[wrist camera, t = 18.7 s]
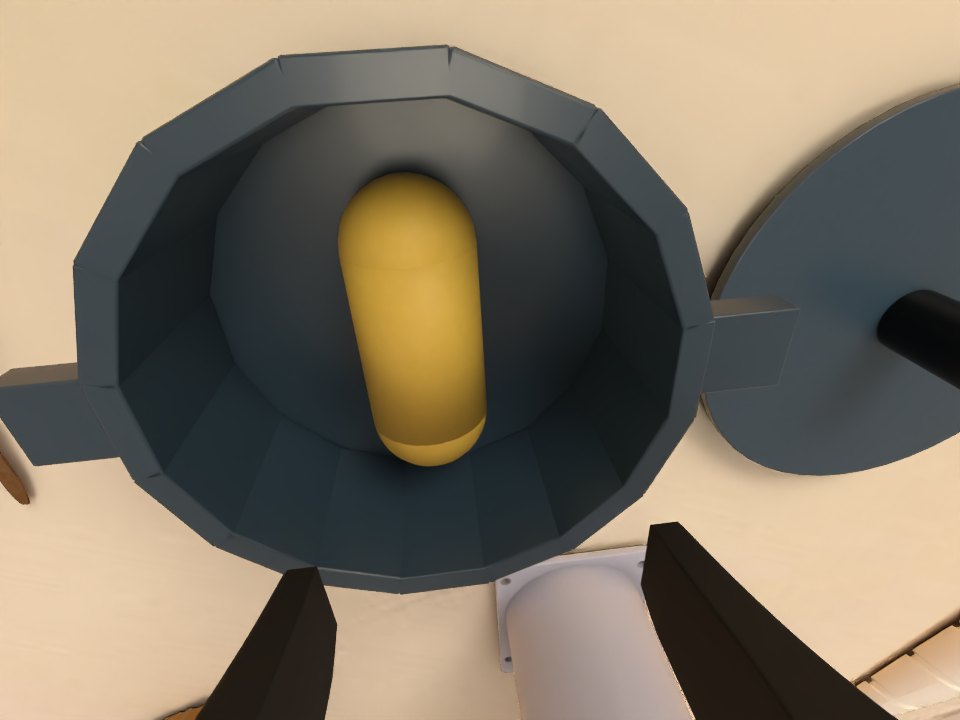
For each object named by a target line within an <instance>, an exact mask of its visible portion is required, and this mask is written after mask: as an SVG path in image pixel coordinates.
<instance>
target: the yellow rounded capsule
mask: <svg viewBox="0 0 960 720" xmlns="http://www.w3.org/2000/svg"><path fill="white" fill-rule="evenodd" d="M338 251H339V258H340V263H341V268H342V273H343V277H344V282H345V287H346V292H347V296H348V301H349V306H350V311H351V315H352V320H353V325H354V330H355V334H356V339H357V344H358V349H359V353H360V358H361V363H362V368H363V372H364V377H365V382H366V387H367V391H368V396H369V401H370V406H371V410H372V415H373V420H374V424H375V427H376V430H377V432H378V434H379V437H380V438H381V440H382V441H383V443H384V444H385V446H386V447H387V448H388V449H389V450H390V451H391V452H392V453H393V454H395V455H396V456H397V457H399V458H400V459H402V460H405V461H407V462H409V463H412V464H415V465H419V466H439V465H444V464H447V463H450V462H453V461H455V460H456V459H458V458H460V457H461V456H462V455H464V454H465V453H466V452H468V451H469V450H470V449H471V448H472V447H473V446H474V444H475V443H476V441H477V440H478V438H479V436H480V435H481V433H482V431H483V427H484V424H485V420H486V414H487V399H486V383H485V367H484V351H483V335H482V319H481V303H480V287H479V270H478V254H477V241H476V235H475V229H474V225H473V222H472V219H471V217H470V214H469V212H468V210H467V209H466V207H465V206H464V204H463V202H462V201H461V200H460V199H459V198H458V197H457V196H456V195H455V194H454V192H453V191H452V190H451V189H449V188H448V187H446V186H445V185H444V184H442V183H441V182H439V181H437V180H435V179H432V178H430V177H428V176H425V175H421V174H415V173H409V172H401V173H392V174H388V175H385V176H382V177H380V178H377V179H375V180H373V181H371V182H370V183H368V184H367V185H365V186H364V187H362V188H361V189H360V190H359V191H358V192H357V193H356V194H355V196H354V197H353V198H352V199H351V200H350V202H349V203H348V205H347V207H346V209H345V210H344V212H343V215H342V218H341V221H340V224H339V231H338Z"/></svg>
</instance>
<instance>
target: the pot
mask: <svg viewBox="0 0 960 720" xmlns="http://www.w3.org/2000/svg"><path fill="white" fill-rule="evenodd" d="M401 172H409V173H415V174H421V175H425V176H428V177H430V178H432V179H435V180H437V181H439V182H441V183H442V184H444V185H445V186H446V187H448V188H449V189H451V190H452V191H453V192H454V194H455V195H456V196H457V197H458V198H459V199H460V200H461V201H462V202H463V204H464V206H465V207H466V209H467V210H468V212H469V214H470V217H471V219H472V222H473V225H474V229H475V235H476V241H477V254H478V270H479V287H480V303H481V319H482V335H483V351H484V367H485V383H486V399H487V414H486V420H485V424H484V427H483V431H482V433H481V435H480V436H479V438H478V440H477V441H476V443H475V444H474V446H473V447H472V448H471V449H470V450H469V451H468V452H466V453H465V454H464V455H462V456H461V457H460V458H458V459H456V460H455V461H453V462H450V463H447V464H444V465H439V466H419V465H415V464H412V463H409V462H407V461H405V460H402V459H400V458H399V457H397V456H396V455H395V454H393V453H392V452H391V451H390V450H389V449H388V448H387V447H386V446H385V444H384V443H383V441H382V440H381V438H380V437H379V434H378V432H377V430H376V427H375V424H374V420H373V415H372V410H371V406H370V401H369V396H368V391H367V387H366V382H365V377H364V372H363V368H362V363H361V358H360V353H359V349H358V344H357V339H356V334H355V330H354V325H353V320H352V315H351V311H350V306H349V301H348V296H347V292H346V287H345V282H344V277H343V273H342V268H341V263H340V258H339V251H338V231H339V224H340V221H341V218H342V215H343V212H344V210H345V209H346V207H347V205H348V203H349V202H350V200H351V199H352V198H353V197H354V196H355V194H356V193H357V192H358V191H359V190H360V189H361V188H362V187H364V186H365V185H367V184H368V183H370V182H371V181H373V180H375V179H377V178H380V177H382V176H385V175H388V174H392V173H401ZM687 211H688V210H687V207H686V206H685V205H684V204H683V203H682V202H681V201H680V199H679V198H678V197H677V196H676V195H675V194H674V192H673V191H672V190H671V189H670V188H669V187H668V186H667V184H666V183H665V182H664V181H663V180H662V179H661V177H660V176H659V175H658V174H657V173H656V172H655V171H654V169H653V168H652V167H651V166H650V165H649V164H648V162H647V161H646V160H645V159H644V158H643V157H642V155H641V154H640V153H639V152H638V151H637V150H636V149H635V147H634V146H633V145H632V144H631V143H630V142H629V140H628V139H627V138H626V137H625V136H624V135H623V134H622V132H621V131H620V130H619V129H618V128H617V127H616V125H615V124H614V123H613V122H612V121H611V120H610V119H609V117H608V116H607V115H606V114H605V113H604V112H603V110H602V109H600V108H597V107H596V106H595V105H594V104H591V103H589V102H587V101H584V100H582V99H579V98H577V97H575V96H572V95H570V94H567V93H565V92H563V91H560V90H558V89H555V88H553V87H551V86H548V85H546V84H543V83H541V82H539V81H536V80H534V79H531V78H529V77H527V76H524V75H522V74H519V73H517V72H514V71H512V70H510V69H507V68H505V67H502V66H500V65H498V64H495V63H493V62H490V61H488V60H486V59H483V58H481V57H478V56H476V55H474V54H471V53H469V52H466V51H464V50H462V49H459V48H457V47H449V46H448V45H433V46H417V47H401V48H386V49H370V50H354V51H338V52H322V53H306V54H290V55H280V56H278V58H272V59H271V60H269V61H267V62H266V63H264V64H262V65H261V66H259V67H257V68H256V69H254V70H252V71H251V72H249V73H248V74H246V75H244V76H243V77H241V78H239V79H238V80H236V81H234V82H233V83H231V84H229V85H228V86H226V87H225V88H223V89H221V90H220V91H218V92H216V93H215V94H213V95H211V96H210V97H208V98H206V99H205V100H203V101H202V102H200V103H198V104H197V105H195V106H193V107H192V108H190V109H188V110H187V111H185V112H183V113H182V114H180V115H179V116H177V117H175V118H174V119H172V120H170V121H169V122H167V123H165V124H164V125H162V126H160V127H159V128H157V129H156V130H154V131H152V132H151V133H149V134H147V135H146V136H144V137H143V138H142V140H141V141H139V142H137V143H136V145H135V147H134V149H133V151H132V152H131V154H130V156H129V158H128V160H127V162H126V164H125V166H124V167H123V169H122V171H121V173H120V175H119V177H118V179H117V181H116V182H115V184H114V186H113V188H112V190H111V192H110V194H109V196H108V197H107V199H106V201H105V203H104V205H103V207H102V209H101V210H100V212H99V214H98V216H97V218H96V220H95V222H94V224H93V225H92V227H91V229H90V231H89V233H88V235H87V237H86V239H85V240H84V242H83V244H82V246H81V248H80V250H79V252H78V254H77V255H76V257H75V259H74V265H73V281H74V301H75V321H76V341H77V363H67V364H57V365H46V366H36V367H26V368H15V369H11V370H9V371H8V372H6V373H5V374H3V375H2V376H1V377H0V418H1V420H2V421H3V422H4V424H5V425H6V427H7V428H8V430H9V431H10V432H11V434H12V435H13V437H14V438H15V440H16V441H17V443H18V444H19V445H20V447H21V448H22V450H23V451H24V453H25V454H26V455H27V457H28V458H29V460H30V461H31V463H32V464H33V465H34V466H43V465H52V464H61V463H70V462H80V461H89V460H98V459H107V458H116V457H120V458H121V460H122V462H123V463H124V465H125V467H126V469H127V470H128V472H129V474H130V476H131V477H132V479H133V480H135V481H134V482H135V483H136V484H137V485H138V486H139V487H141V488H142V489H143V490H144V491H146V492H147V493H148V494H149V495H151V496H152V497H153V498H154V499H156V500H157V501H158V502H159V503H160V504H162V505H163V506H164V507H165V508H167V509H168V510H169V511H170V512H172V513H173V514H174V515H175V516H177V517H178V518H179V519H180V520H181V521H183V522H184V523H185V524H186V525H188V526H189V527H190V528H191V529H193V530H194V531H195V532H196V533H198V534H199V535H200V536H201V537H202V538H204V539H205V540H206V541H207V542H209V543H210V544H211V545H212V546H216V547H217V548H219V549H221V550H224V551H226V552H229V553H231V554H234V555H236V556H239V557H241V558H244V559H246V560H249V561H251V562H254V563H256V564H259V565H261V566H264V567H266V568H269V569H271V570H274V571H276V572H279V573H281V574H284V573H285V572H286V571H287V570H291V569H299V568H307V567H315V566H317V568H318V571H319V574H320V576H321V579H322V582H323V585H326V586H334V587H342V588H351V589H359V590H368V591H376V592H385V593H393V594H399V593H400V594H401V595H402V594H409V593H417V592H425V591H433V590H440V589H448V588H456V587H463V586H471V585H479V584H487V583H489V582H493V581H496V580H498V579H501V578H503V577H506V576H508V575H511V574H513V573H516V572H518V571H521V570H523V569H526V568H528V567H531V566H533V565H536V564H538V563H541V562H543V561H546V560H548V559H551V558H553V557H556V556H558V555H561V554H563V553H566V552H568V551H571V550H572V549H575V548H576V547H577V546H579V545H580V544H581V543H583V542H584V541H585V540H587V539H588V538H589V537H590V536H592V535H593V534H594V533H596V532H597V531H598V530H600V529H601V528H602V527H603V526H605V525H606V524H607V523H609V522H610V521H611V520H612V519H614V518H615V517H616V516H618V515H619V514H620V513H622V512H623V511H624V510H625V509H627V508H628V507H629V506H631V505H632V504H633V503H635V502H636V501H637V500H638V499H640V498H641V497H642V496H643V494H644V493H645V492H646V491H647V489H648V488H649V486H650V485H651V483H652V482H653V480H654V479H655V477H656V476H657V474H658V473H659V471H660V470H661V468H662V467H663V465H664V464H665V462H666V461H667V460H668V458H669V457H670V455H671V454H672V452H673V451H674V449H675V448H676V446H677V445H678V443H679V442H680V440H681V439H682V437H683V436H684V434H685V433H686V431H687V430H688V428H689V427H690V425H691V424H692V422H693V421H694V418H695V417H696V414H697V409H698V404H699V399H700V394H703V393H712V392H721V391H730V390H739V389H748V388H758V387H767V386H776V385H778V383H779V380H780V376H781V373H782V370H783V366H784V363H785V360H786V356H787V353H788V350H789V346H790V343H791V340H792V337H793V333H794V330H795V327H796V323H797V320H798V317H799V313H800V308H799V307H798V306H796V305H794V304H793V303H791V302H789V301H788V300H786V299H784V298H783V297H781V296H780V295H777V294H775V295H765V296H754V297H744V298H734V299H724V300H713V301H710V297H709V293H708V289H707V285H706V281H705V277H704V273H703V269H702V265H701V261H700V257H699V253H698V249H697V245H696V241H695V237H694V232H693V228H692V224H691V220H690V216H689V213H688V212H687Z"/></svg>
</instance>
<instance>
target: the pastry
mask: <svg viewBox="0 0 960 720" xmlns="http://www.w3.org/2000/svg"><path fill="white" fill-rule="evenodd" d="M203 706H204V705H203ZM203 706H201V707H199V708H195V709H191V708H190V709H188V710H187V711H185V712H182V713H181V711H180V712H179V713H178V714H175V715H172V716H169V717H167V718H165V719H164V720H194V719H195V718H196V716H197V715H198V713H199V712H200V710H201V709H202V707H203Z"/></svg>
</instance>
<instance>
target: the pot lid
mask: <svg viewBox="0 0 960 720" xmlns="http://www.w3.org/2000/svg"><path fill="white" fill-rule="evenodd" d="M775 294H777V295H780V296H781V297H783V298H784V299H786V300H788V301H789V302H791V303H793V304H794V305H796V306H798V307H799V308H800V313H799V317H798V320H797V323H796V327H795V330H794V333H793V337H792V340H791V343H790V346H789V350H788V353H787V356H786V360H785V363H784V366H783V370H782V373H781V376H780V380H779V383H778V385H776V386H767V387H758V388H748V389H739V390H730V391H721V392H712V393H703V394H701V397H702V401H703V403H704V406H705V408H706V411H707V413H708V416H709V418H710V419H711V421H712V422H713V424H714V425H715V427H716V429H717V430H718V431H719V433H720V434H721V435H722V436H723V437H724V438H725V439H726V440H727V442H728V443H729V444H730V445H731V446H732V447H733V448H734V449H735V450H737V451H738V452H740V453H741V454H742V455H744V456H745V457H747V458H748V459H750V460H752V461H754V462H756V463H758V464H760V465H762V466H764V467H767V468H771V469H774V470H777V471H781V472H785V473H792V474H798V475H816V476H823V475H837V474H846V473H852V472H858V471H863V470H867V469H871V468H875V467H879V466H883V465H886V464H889V463H892V462H895V461H898V460H901V459H904V458H907V457H909V456H912V455H914V454H916V453H919V452H921V451H923V450H926V449H928V448H930V447H932V446H934V445H936V444H938V443H940V442H942V441H944V440H946V439H948V438H950V437H952V436H954V435H956V434H957V433H959V432H960V83H959V84H956V85H952V86H949V87H946V88H942V89H939V90H935V91H932V92H929V93H927V94H924V95H922V96H920V97H917V98H915V99H912V100H910V101H908V102H905V103H903V104H901V105H898V106H896V107H894V108H892V109H890V110H888V111H887V112H885V113H883V114H881V115H879V116H878V117H876V118H874V119H872V120H870V121H869V122H867V123H865V124H863V125H861V126H860V127H858V128H857V129H856V130H854V131H853V132H851V133H850V134H848V135H847V136H845V137H844V138H842V139H841V140H840V141H838V142H837V143H835V144H834V145H832V146H831V147H829V148H828V149H827V150H826V151H825V152H823V153H822V154H821V155H820V156H819V157H817V158H816V159H815V160H814V161H813V162H812V163H810V164H809V165H808V166H807V167H806V168H804V169H803V170H802V171H801V172H800V173H799V174H798V175H797V176H796V177H795V178H794V179H793V180H792V181H791V182H790V183H789V184H788V185H787V186H786V187H785V188H784V189H783V190H782V191H781V192H780V193H779V194H778V195H777V196H776V197H775V198H774V199H773V200H772V201H771V203H770V204H769V205H768V206H767V207H766V209H765V210H764V211H763V212H762V214H761V215H760V216H759V217H758V218H757V220H756V221H755V222H754V223H753V224H752V226H751V227H750V228H749V230H748V231H747V233H746V234H745V236H744V237H743V239H742V240H741V242H740V243H739V245H738V246H737V248H736V249H735V251H734V252H733V254H732V256H731V257H730V259H729V261H728V263H727V265H726V267H725V269H724V271H723V272H722V274H721V276H720V278H719V280H718V282H717V284H716V287H715V289H714V292H713V294H712V297H711V299H710V301H713V300H724V299H734V298H744V297H754V296H765V295H775Z"/></svg>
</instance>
